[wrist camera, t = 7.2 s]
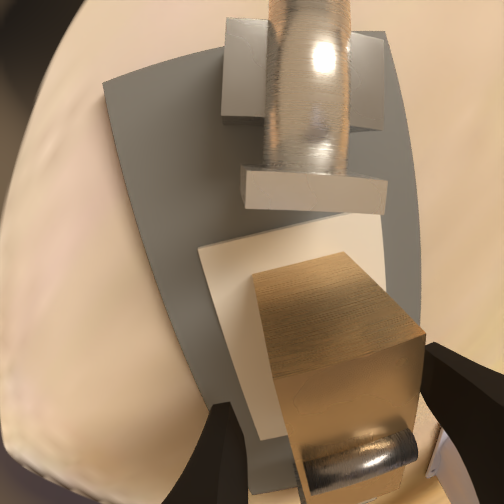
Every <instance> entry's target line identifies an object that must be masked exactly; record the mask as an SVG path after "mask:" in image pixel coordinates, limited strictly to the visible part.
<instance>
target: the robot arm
mask: <svg viewBox="0 0 504 504" xmlns="http://www.w3.org/2000/svg"><path fill="white" fill-rule="evenodd" d="M420 392H421V394H422V396H423V398H424V400H425V402H426V404H427V406H428V407H429V409H430V410H431V412H432V413H433V415H434V416H435V418H436V419H437V421H438V422H439V423H440V425H441V426H442V427H441V431H440V434H439V437H438V440H437V443H436V447H435V450H434V452H433V455H432V458H431V461H430V464H429V467H428V469H427V472H426V475H425V476H426V478H431V477H433V476H435V475H436V476H437V478H438V480H439V482H440V484H441V486H442V487H443V489H444V491H445V493H446V495H447V497H448V499H449V501H450V502H451V504H504V375H503V374H501V373H498V372H496V371H493V370H491V369H488V368H486V367H484V366H482V365H480V364H478V363H475V362H473V361H471V360H469V359H467V358H465V357H463V356H461V355H459V354H458V353H456V352H454V351H452V350H450V349H448V348H446V347H444V346H442V345H440V344H438V343H436V342H433V343H430V344H428V345H425V353H424V362H423V371H422V379H421V387H420ZM161 504H248V463H247V453H246V445H245V439H244V434H243V432H242V429H241V427H240V425H239V422H238V420H237V417H236V415H235V412H234V410H233V407H232V405H231V402H224V403H218V404H213V405H212V407H211V409H210V412H209V415H208V418H207V421H206V424H205V426H204V429H203V431H202V434H201V436H200V439H199V441H198V443H197V445H196V447H195V450H194V452H193V454H192V456H191V458H190V460H189V462H188V463H187V465H186V467H185V469H184V471H183V473H182V474H181V476H180V478H179V479H178V481H177V483H176V484H175V486H174V487H173V489H172V490H171V491H170V493H169V494H168V496H167V497H166V498H165V500H164V501H163V502H162V503H161Z"/></svg>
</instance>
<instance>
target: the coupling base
mask: <svg viewBox="0 0 504 504" xmlns="http://www.w3.org/2000/svg"><path fill="white" fill-rule="evenodd" d="M351 32H353V33H358V34H362V35H367V36H371V37H375V38H379V39H383V40H384V71H385V90H384V127H383V131H369V132H355V133H350V134H349V151H348V166H347V171H350V172H354V173H358V174H363V175H367V176H371V177H375V178H379V179H383V180H387V181H388V185H387V195H386V204H385V213H384V215H376V214H360V213H342V212H322V211H299V210H271V209H245V206H244V203H243V199H242V196H241V193H240V164H263V143H264V126H249V125H223V123H222V118H221V104H222V83H223V64H224V47H225V46H223V47H219V48H214V49H210V50H205V51H201V52H197V53H193V54H189V55H186V56H182V57H178V58H175V59H171V60H168V61H164V62H161V63H158V64H154V65H151V66H148V67H145V68H142V69H139V70H136V71H133V72H130V73H128V74H125V75H122V76H119V77H117V78H114V79H111V80H109V81H106V82H104V83H102V84H103V89H104V94H105V99H106V104H107V109H108V114H109V118H110V123H111V127H112V132H113V136H114V140H115V145H116V149H117V153H118V157H119V161H120V165H121V169H122V172H123V176H124V180H125V184H126V187H127V191H128V195H129V198H130V202H131V205H132V208H133V212H134V215H135V219H136V222H137V225H138V228H139V232H140V235H141V238H142V241H143V244H144V247H145V250H146V254H147V257H148V260H149V263H150V265H151V268H152V271H153V274H154V277H155V280H156V283H157V286H158V288H159V291H160V294H161V297H162V300H163V302H164V305H165V308H166V310H167V313H168V316H169V318H170V321H171V323H172V326H173V329H174V331H175V334H176V336H177V339H178V341H179V344H180V346H181V349H182V351H183V353H184V356H185V358H186V361H187V363H188V365H189V368H190V370H191V372H192V375H193V377H194V379H195V382H196V384H197V386H198V388H199V391H200V393H201V395H202V397H203V399H204V402H205V404H206V406H207V408H208V410H209V412H210V409H211V407H212V405H213V404H218V403H224V402H231V405H232V407H233V410H234V412H235V415H236V417H237V420H238V422H239V425H240V427H241V429H242V432H243V434H244V439H245V445H246V453H247V463H248V488H249V490H250V492H251V494H252V495H256V494H262V493H268V492H274V491H279V490H284V489H289V488H294V487H297V482H296V478H295V473H294V468H293V464H294V463H295V459H294V456H293V452H292V448H291V445H290V441H289V438H288V434H287V430H286V427H285V423H284V419H283V415H282V412H281V408H280V404H279V401H278V397H277V393H276V390H275V386H274V382H273V377H272V373H271V368H270V363H269V358H268V353H267V348H266V343H265V338H264V333H263V328H262V323H261V318H260V313H259V308H258V303H257V297H256V292H255V287H254V282H253V277H252V274H254V273H259V272H263V271H267V270H271V269H275V268H279V267H283V266H287V265H291V264H295V263H299V262H303V261H307V260H311V259H315V258H319V257H323V256H327V255H331V254H335V253H339V252H343V251H344V252H345V253H346V254H347V255H348V256H349V257H350V258H351V259H352V260H353V261H354V262H355V263H357V264H358V265H359V266H360V267H361V268H362V269H363V270H364V271H365V272H366V273H367V274H368V275H369V276H370V277H371V278H372V279H373V280H374V281H375V282H376V283H377V284H378V285H379V286H380V287H381V288H382V289H383V290H384V291H385V292H386V293H387V294H388V295H389V296H390V297H391V298H392V299H393V300H394V301H395V302H396V303H397V304H398V305H399V306H400V307H401V308H402V309H403V310H404V311H405V312H406V313H407V314H408V315H409V316H410V317H411V318H412V319H413V320H414V321H415V322H416V323H417V324H418V325H419V326H420V313H421V245H420V225H419V211H418V199H417V189H416V179H415V171H414V163H413V156H412V149H411V143H410V136H409V131H408V125H407V119H406V114H405V109H404V104H403V99H402V95H401V90H400V86H399V82H398V77H397V73H396V69H395V66H394V62H393V58H392V54H391V51H390V47H389V44H388V40H387V37H386V34H385V31H351Z"/></svg>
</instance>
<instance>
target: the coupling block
mask: <svg viewBox="0 0 504 504" xmlns="http://www.w3.org/2000/svg"><path fill="white" fill-rule="evenodd" d="M252 277H253V282H254V287H255V292H256V297H257V303H258V308H259V313H260V318H261V323H262V328H263V333H264V338H265V343H266V348H267V353H268V358H269V363H270V368H271V373H272V377H273V382H274V386H275V390H276V393H277V397H278V401H279V404H280V408H281V412H282V415H283V419H284V423H285V427H286V430H287V434H288V438H289V441H290V445H291V448H292V452H293V456H294V459H295V463H296V467H297V470H298V474H299V477H300V481H301V485H302V488H303V492H304V495H305V499H306V502H307V504H357V503H361V502H364V501H367V500H370V499H372V498H375V497H378V496H381V495H383V494H386V493H389V492H391V491H394V490H396V489H399V487H400V483H401V479H402V476H403V472H404V468H405V465H407V464H410V463H412V462H414V461H416V460H417V458H418V447H417V443H416V440H415V437H414V435H413V428H414V423H415V418H416V412H417V406H418V400H419V394H420V387H421V379H422V371H423V362H424V353H425V341H426V333H425V332H424V331H423V330H422V329H421V328H420V326H419V325H418V324H417V323H416V322H415V321H414V320H413V319H412V318H411V317H410V316H409V315H408V314H407V313H406V312H405V311H404V310H403V309H402V308H401V307H400V306H399V305H398V304H397V303H396V302H395V301H394V300H393V299H392V298H391V297H390V296H389V295H388V294H387V293H386V292H385V291H384V290H383V289H382V288H381V287H380V286H379V285H378V284H377V283H376V282H375V281H374V280H373V279H372V278H371V277H370V276H369V275H368V274H367V273H366V272H365V271H364V270H363V269H362V268H361V267H360V266H359V265H358V264H357V263H355V262H354V261H353V260H352V259H351V258H350V257H349V256H348V255H347V254H346V253H345V252H344V251H343V252H339V253H335V254H331V255H327V256H323V257H319V258H315V259H311V260H307V261H303V262H299V263H295V264H291V265H287V266H283V267H279V268H275V269H271V270H267V271H263V272H259V273H254V274H252Z"/></svg>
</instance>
